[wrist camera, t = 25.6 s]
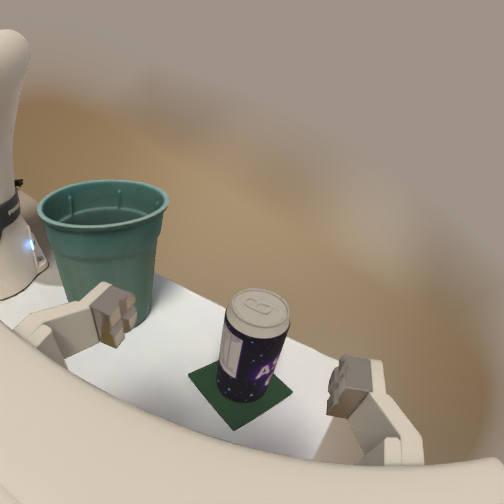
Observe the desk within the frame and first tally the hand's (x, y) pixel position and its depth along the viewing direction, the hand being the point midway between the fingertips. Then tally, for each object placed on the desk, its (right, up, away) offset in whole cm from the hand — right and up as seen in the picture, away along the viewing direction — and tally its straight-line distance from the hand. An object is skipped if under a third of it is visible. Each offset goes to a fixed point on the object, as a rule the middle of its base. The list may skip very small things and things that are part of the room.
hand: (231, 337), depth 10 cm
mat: (-1, -12, +20) cm, 23 cm away
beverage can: (-1, -12, +20) cm, 23 cm away
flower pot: (-19, -5, +27) cm, 34 cm away
